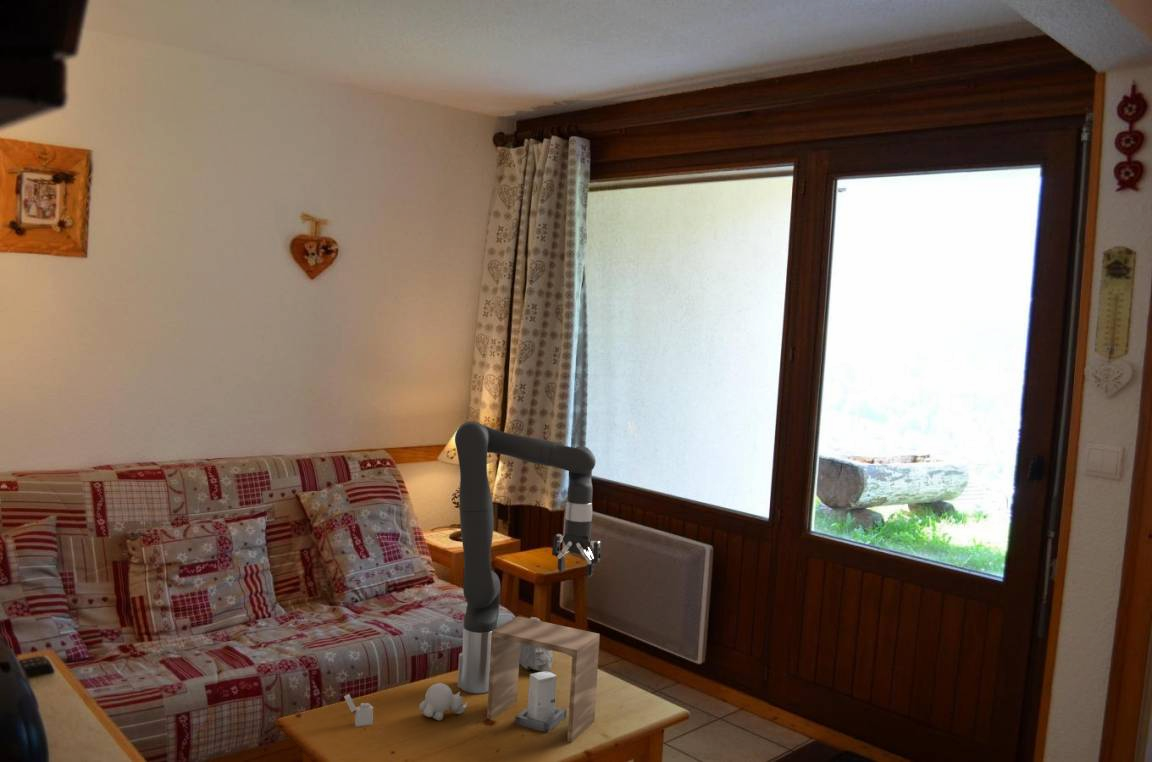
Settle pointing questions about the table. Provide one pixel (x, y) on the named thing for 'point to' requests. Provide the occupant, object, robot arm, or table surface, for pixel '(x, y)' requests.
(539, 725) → the socket collar
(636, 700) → the table surface
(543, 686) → the skincare box
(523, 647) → the decorative rock
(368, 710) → the lighter
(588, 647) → the wooden bench
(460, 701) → the toy rhinoceros
